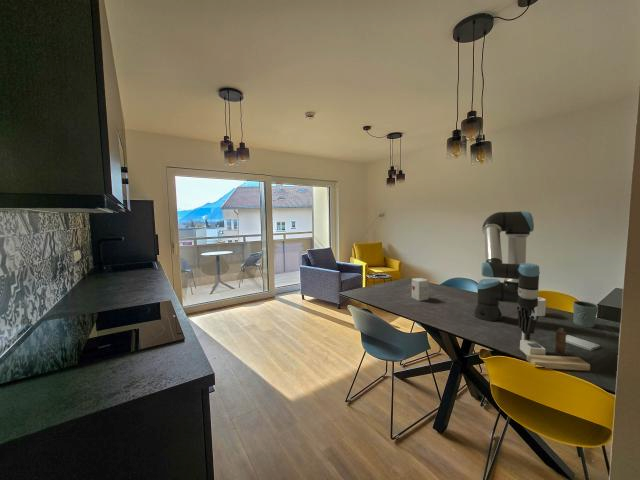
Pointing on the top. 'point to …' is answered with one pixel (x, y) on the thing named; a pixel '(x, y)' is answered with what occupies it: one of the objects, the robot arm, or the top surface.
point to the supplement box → (420, 289)
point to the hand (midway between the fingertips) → (525, 345)
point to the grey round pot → (584, 313)
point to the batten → (559, 362)
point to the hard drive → (581, 343)
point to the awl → (560, 341)
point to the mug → (540, 307)
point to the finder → (531, 347)
